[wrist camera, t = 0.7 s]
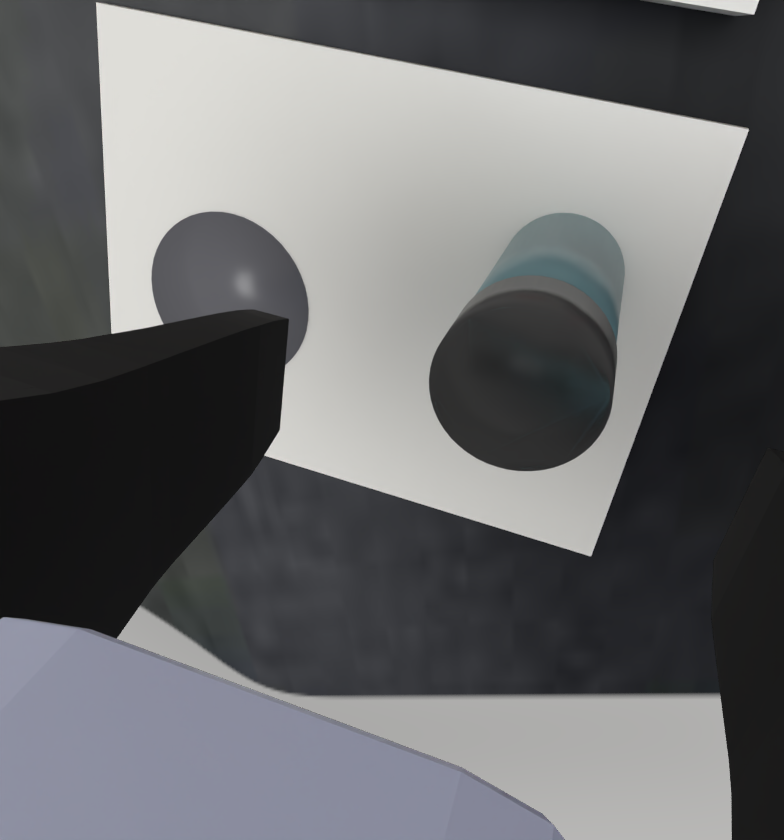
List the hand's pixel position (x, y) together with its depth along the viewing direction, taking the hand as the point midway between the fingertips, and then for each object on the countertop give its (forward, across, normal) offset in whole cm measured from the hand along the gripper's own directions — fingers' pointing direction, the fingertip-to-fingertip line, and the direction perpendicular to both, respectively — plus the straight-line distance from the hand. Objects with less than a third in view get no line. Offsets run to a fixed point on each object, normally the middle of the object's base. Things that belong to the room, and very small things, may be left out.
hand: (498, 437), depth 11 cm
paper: (+9, +5, +2) cm, 10 cm away
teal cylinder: (+9, 0, 0) cm, 9 cm away
